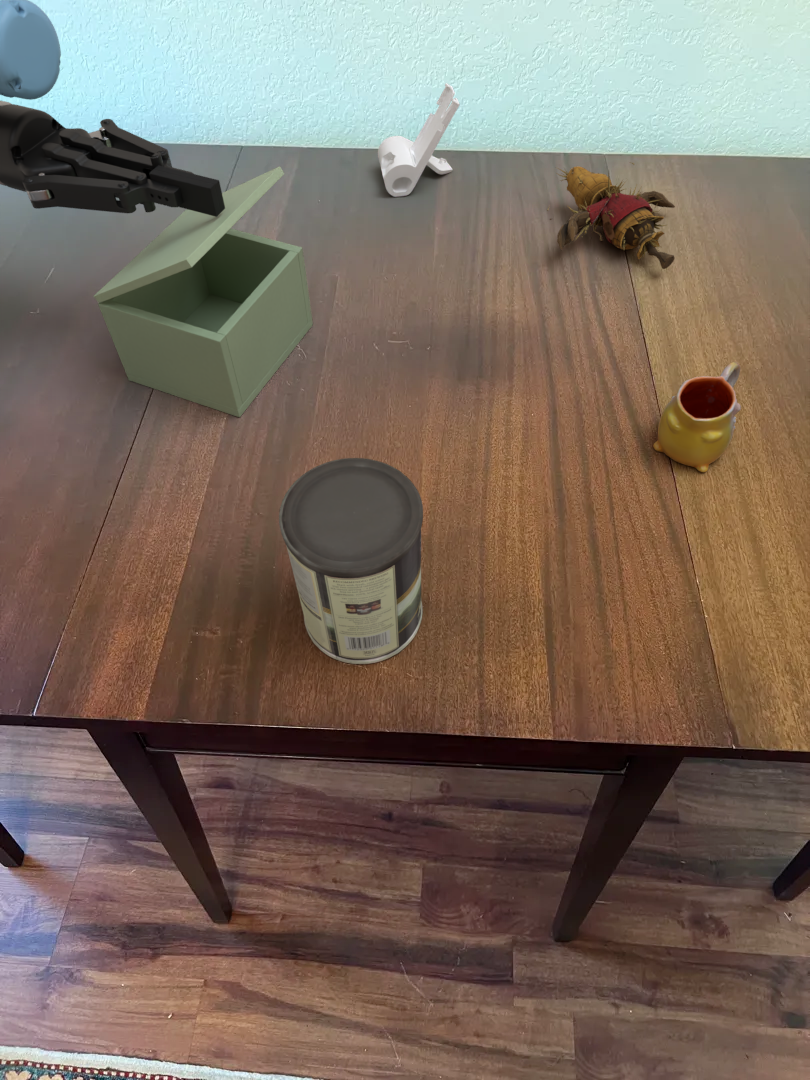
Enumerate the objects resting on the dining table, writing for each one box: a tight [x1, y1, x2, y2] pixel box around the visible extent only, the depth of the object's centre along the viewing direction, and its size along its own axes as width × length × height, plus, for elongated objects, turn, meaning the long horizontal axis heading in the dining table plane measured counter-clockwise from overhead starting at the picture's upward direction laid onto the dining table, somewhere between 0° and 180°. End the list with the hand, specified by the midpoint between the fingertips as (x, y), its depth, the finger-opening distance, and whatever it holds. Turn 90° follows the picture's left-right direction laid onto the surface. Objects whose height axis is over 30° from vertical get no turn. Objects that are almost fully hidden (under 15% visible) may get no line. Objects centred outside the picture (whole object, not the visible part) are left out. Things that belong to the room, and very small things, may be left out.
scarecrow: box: [546, 161, 676, 270], centre depth 95 cm, size 17×16×8 cm
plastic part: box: [377, 82, 460, 198], centre depth 102 cm, size 8×10×12 cm
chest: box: [97, 227, 314, 418], centre depth 82 cm, size 14×16×10 cm
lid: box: [93, 166, 285, 304], centre depth 75 cm, size 15×16×1 cm
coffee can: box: [278, 457, 424, 665], centre depth 61 cm, size 10×10×14 cm
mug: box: [652, 361, 742, 473], centre depth 76 cm, size 12×7×7 cm, turn 139°
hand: (217, 198), depth 70 cm, fingers closed
